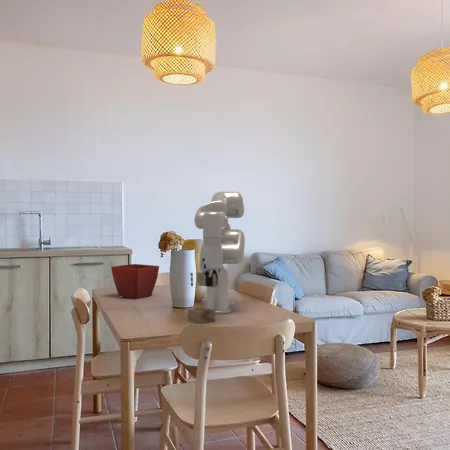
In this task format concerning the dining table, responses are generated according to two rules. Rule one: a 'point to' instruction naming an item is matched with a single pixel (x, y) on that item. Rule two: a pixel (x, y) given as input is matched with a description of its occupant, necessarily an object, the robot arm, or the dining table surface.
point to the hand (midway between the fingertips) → (211, 285)
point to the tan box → (201, 315)
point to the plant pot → (135, 279)
